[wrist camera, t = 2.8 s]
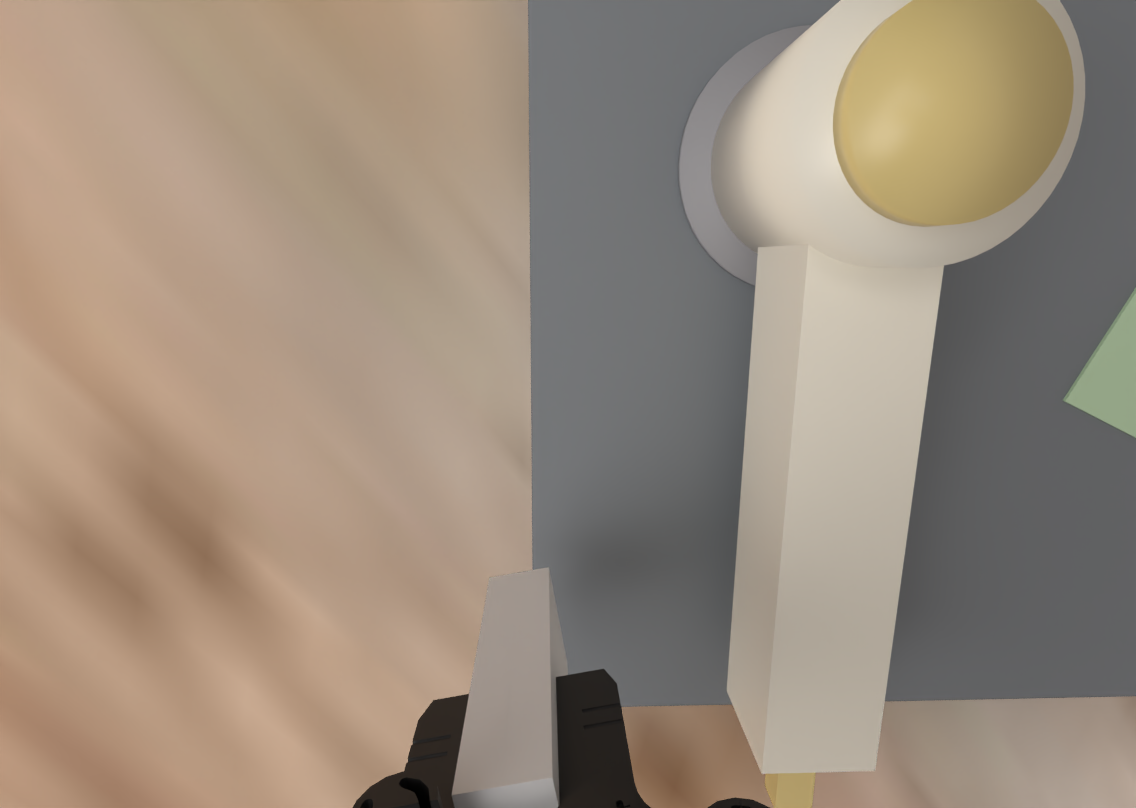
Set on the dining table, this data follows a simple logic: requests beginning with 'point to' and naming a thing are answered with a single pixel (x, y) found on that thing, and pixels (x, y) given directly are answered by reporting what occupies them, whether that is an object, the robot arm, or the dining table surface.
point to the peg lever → (863, 326)
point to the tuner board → (722, 361)
